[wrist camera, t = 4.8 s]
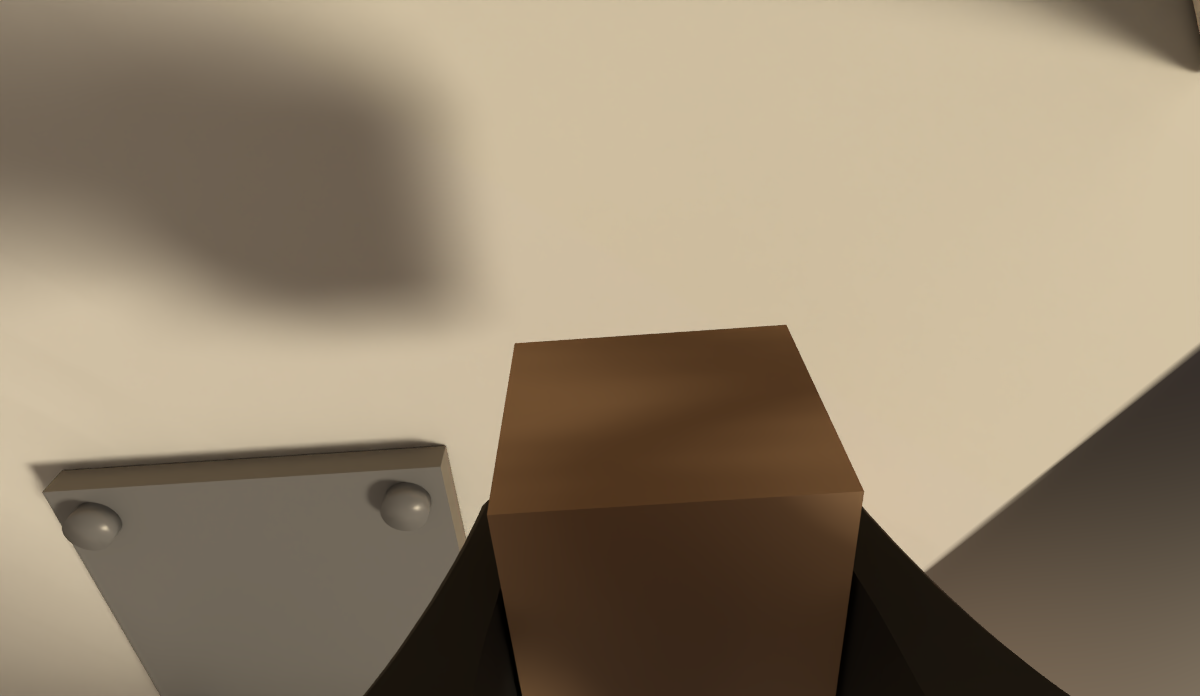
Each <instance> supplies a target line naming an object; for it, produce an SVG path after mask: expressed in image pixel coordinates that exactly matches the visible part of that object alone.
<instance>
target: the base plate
mask: <svg viewBox="0 0 1200 696" xmlns="http://www.w3.org/2000/svg"><path fill="white" fill-rule="evenodd" d="M43 494H44V496H45V498H46V499H47V501H48V503H49V504H50V506H51V508H52V510H53V511H54V513H55V515H56V516H57V518H58V520H59V522H60V523H61V525H62V531H63V534H64V536H65V537H66V538H67V539H68V540H69V541H70V542H71V543H72V544H73V546H74V547H75V549H76V551H77V553H78V554H79V556H80V558H81V560H82V561H83V563H84V565H85V566H86V568H87V570H88V572H89V573H90V575H91V577H92V578H93V580H94V582H95V584H96V585H97V587H98V589H99V590H100V592H101V594H102V596H103V597H104V599H105V601H106V603H107V604H108V606H109V608H110V609H111V611H112V613H113V615H114V616H115V618H116V620H117V621H118V623H119V625H120V627H121V628H122V630H123V632H124V634H125V635H126V637H127V639H128V640H129V642H130V644H131V646H132V647H133V649H134V651H135V652H136V654H137V656H138V658H139V659H140V661H141V663H142V664H143V666H144V668H145V670H146V671H147V673H148V675H149V677H150V678H151V680H152V682H153V683H154V685H155V687H156V689H157V690H158V692H159V694H160V695H161V696H363V695H364V694H365V693H366V691H367V690H368V689H369V688H370V686H371V685H372V684H373V683H374V681H375V680H376V679H377V678H378V676H379V675H380V674H381V672H382V671H383V670H384V668H385V667H386V666H387V664H388V663H389V662H390V660H391V659H392V657H393V656H394V655H395V653H396V652H397V651H398V649H399V648H400V646H401V645H402V643H403V642H404V640H405V639H406V638H407V636H408V635H409V633H410V632H411V630H412V629H413V627H414V626H415V624H416V623H417V621H418V620H419V618H420V617H421V615H422V614H423V612H424V611H425V609H426V608H427V606H428V605H429V603H430V602H431V600H432V598H433V597H434V595H435V593H436V592H437V590H438V588H439V587H440V585H441V583H442V582H443V580H444V578H445V577H446V575H447V573H448V572H449V570H450V568H451V566H452V565H453V563H454V561H455V559H456V557H457V556H458V554H459V552H460V550H461V548H462V547H463V545H464V543H465V541H466V536H465V531H464V527H463V522H462V518H461V513H460V508H459V504H458V499H457V495H456V490H455V485H454V481H453V476H452V472H451V467H450V462H449V458H448V453H447V449H446V446H435V447H420V448H404V449H389V450H374V451H358V452H343V453H327V454H312V455H296V456H281V457H265V458H250V459H235V460H219V461H204V462H188V463H173V464H157V465H142V466H126V467H111V468H95V469H80V470H65V471H61V473H60V474H59V475H58V476H57V477H56V478H55V479H54V480H53V481H52V482H51V484H50V485H49V486H48V487H47V488H46V489H45V490H44V491H43Z"/></svg>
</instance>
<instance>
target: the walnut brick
mask: <svg viewBox="0 0 1200 696" xmlns="http://www.w3.org/2000/svg"><path fill="white" fill-rule="evenodd" d="M863 495H864V490H863V488H862V486H861V484H860V482H859V480H858V477H857V475H856V473H855V471H854V469H853V467H852V465H851V462H850V460H849V458H848V456H847V454H846V452H845V450H844V447H843V445H842V443H841V441H840V439H839V437H838V435H837V432H836V430H835V428H834V426H833V424H832V422H831V420H830V417H829V415H828V413H827V411H826V409H825V407H824V405H823V402H822V400H821V398H820V396H819V394H818V392H817V390H816V387H815V385H814V383H813V381H812V379H811V377H810V375H809V372H808V370H807V368H806V366H805V364H804V362H803V360H802V357H801V355H800V353H799V351H798V349H797V347H796V345H795V342H794V340H793V338H792V336H791V334H790V332H789V330H788V327H787V325H777V326H762V327H748V328H733V329H718V330H704V331H689V332H674V333H660V334H645V335H631V336H616V337H601V338H587V339H572V340H558V341H543V342H528V343H515V345H514V352H513V358H512V364H511V370H510V376H509V382H508V388H507V395H506V401H505V407H504V413H503V419H502V425H501V431H500V438H499V444H498V450H497V456H496V462H495V468H494V475H493V481H492V487H491V493H490V499H489V505H488V511H487V518H488V523H489V528H490V533H491V539H492V544H493V549H494V554H495V559H496V564H497V569H498V574H499V580H500V585H501V590H502V595H503V600H504V605H505V610H506V615H507V620H508V626H509V631H510V636H511V641H512V646H513V651H514V656H515V661H516V666H517V672H518V677H519V682H520V687H521V692H522V696H836V689H837V682H838V674H839V667H840V660H841V653H842V646H843V638H844V631H845V624H846V617H847V610H848V603H849V595H850V588H851V581H852V574H853V567H854V559H855V552H856V545H857V538H858V531H859V523H860V516H861V509H862V502H863Z"/></svg>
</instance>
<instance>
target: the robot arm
mask: <svg viewBox="0 0 1200 696" xmlns="http://www.w3.org/2000/svg"><path fill="white" fill-rule="evenodd" d="M488 505H489V500H488V501H487V502H486V503H485V504H484V505H483V506H482V508H481V510H480V513H479V515H478V517H477V519H476V521H475V523H474V525H473V527H472V529H471V531H470V533H469V535H468V537H467V539H466V541H465V543H464V545H463V547H462V548H461V550H460V552H459V554H458V556H457V557H456V559H455V561H454V563H453V565H452V566H451V568H450V570H449V572H448V573H447V575H446V577H445V578H444V580H443V582H442V583H441V585H440V587H439V588H438V590H437V592H436V593H435V595H434V597H433V598H432V600H431V602H430V603H429V605H428V606H427V608H426V609H425V611H424V612H423V614H422V615H421V617H420V618H419V620H418V621H417V623H416V624H415V626H414V627H413V629H412V630H411V632H410V633H409V635H408V636H407V638H406V639H405V640H404V642H403V643H402V645H401V646H400V648H399V649H398V651H397V652H396V653H395V655H394V656H393V657H392V659H391V660H390V662H389V663H388V664H387V666H386V667H385V668H384V670H383V671H382V672H381V674H380V675H379V676H378V678H377V679H376V680H375V681H374V683H373V684H372V685H371V686H370V688H369V689H368V690H367V691H366V693H365V694H364V695H363V696H522V692H521V687H520V682H519V677H518V672H517V666H516V661H515V656H514V651H513V646H512V641H511V636H510V631H509V626H508V620H507V615H506V610H505V605H504V600H503V595H502V590H501V585H500V580H499V574H498V569H497V564H496V559H495V554H494V549H493V544H492V539H491V533H490V528H489V523H488V518H487V511H488ZM836 696H1070V695H1069V694H1067V693H1066V692H1064V691H1063V690H1061V689H1060V688H1058V687H1057V686H1056V685H1054V684H1053V683H1051V682H1050V681H1049V680H1048V679H1046V678H1045V677H1044V676H1042V675H1041V674H1040V673H1038V672H1037V671H1036V670H1034V669H1033V668H1032V667H1031V666H1029V665H1028V664H1027V663H1026V662H1024V661H1023V660H1022V659H1021V658H1019V657H1018V656H1017V655H1016V654H1014V653H1013V652H1012V651H1011V650H1009V649H1008V648H1007V647H1006V646H1004V645H1003V644H1002V643H1001V642H1000V641H998V640H997V639H996V638H995V637H994V636H992V635H991V634H990V633H989V632H988V631H987V630H986V629H984V628H983V627H982V626H981V625H980V624H979V623H977V622H976V621H975V620H974V619H973V618H972V617H971V616H970V615H969V614H967V613H966V612H965V611H964V610H963V609H962V608H961V607H960V606H959V605H958V604H957V603H956V602H954V601H953V600H952V599H951V598H950V597H949V596H948V595H947V594H946V593H945V592H944V591H943V590H941V589H940V587H939V586H938V585H936V584H935V583H934V582H933V581H932V580H931V579H930V578H929V577H928V576H927V575H926V574H925V573H924V572H923V571H922V570H921V569H920V568H919V567H918V566H917V565H916V564H915V563H914V562H913V561H912V560H911V559H910V557H909V556H908V555H907V554H906V553H905V552H904V551H903V550H902V549H901V548H900V547H899V546H898V545H897V544H896V543H895V542H894V541H893V540H892V539H891V538H890V537H889V536H888V534H887V533H886V532H885V531H884V530H883V529H882V528H881V527H880V526H879V525H878V524H877V522H876V521H875V520H874V519H873V518H872V517H871V516H870V515H869V514H868V512H867V511H866V510H865V509H864V508H863V507H862V509H861V516H860V523H859V531H858V538H857V545H856V552H855V559H854V567H853V574H852V581H851V588H850V595H849V603H848V610H847V617H846V624H845V631H844V638H843V646H842V653H841V660H840V667H839V674H838V682H837V689H836Z"/></svg>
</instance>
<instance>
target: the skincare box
mask: <svg viewBox="0 0 1200 696" xmlns="http://www.w3.org/2000/svg"><path fill="white" fill-rule="evenodd" d="M1193 4H1194V9H1195V14H1196V19H1197V23H1198V28H1199V33H1200V0H1193Z"/></svg>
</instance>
